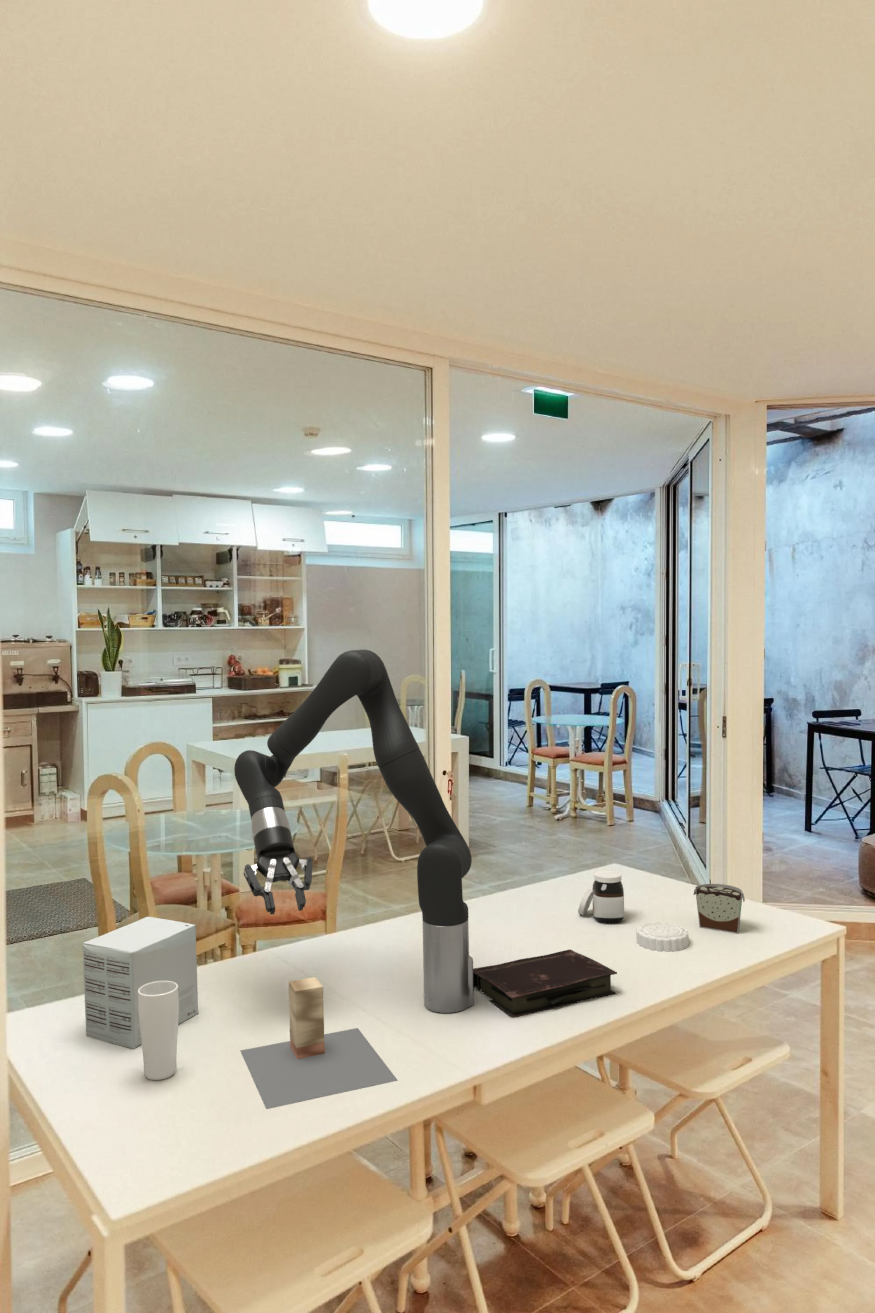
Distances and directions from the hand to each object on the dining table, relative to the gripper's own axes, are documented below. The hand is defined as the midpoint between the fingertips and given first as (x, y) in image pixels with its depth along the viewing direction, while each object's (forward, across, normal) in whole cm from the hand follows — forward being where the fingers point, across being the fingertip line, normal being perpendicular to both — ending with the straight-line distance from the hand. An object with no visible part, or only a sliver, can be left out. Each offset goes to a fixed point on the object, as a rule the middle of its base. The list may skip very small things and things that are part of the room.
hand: (287, 910), depth 177 cm
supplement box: (+7, -26, +24) cm, 36 cm away
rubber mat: (+29, 0, +2) cm, 29 cm away
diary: (+21, +52, +12) cm, 57 cm away
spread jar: (-5, +88, +36) cm, 95 cm away
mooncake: (+11, +91, +21) cm, 94 cm away
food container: (+9, +111, +23) cm, 114 cm away
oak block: (+25, 0, +6) cm, 25 cm away
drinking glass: (+23, -25, +9) cm, 35 cm away
